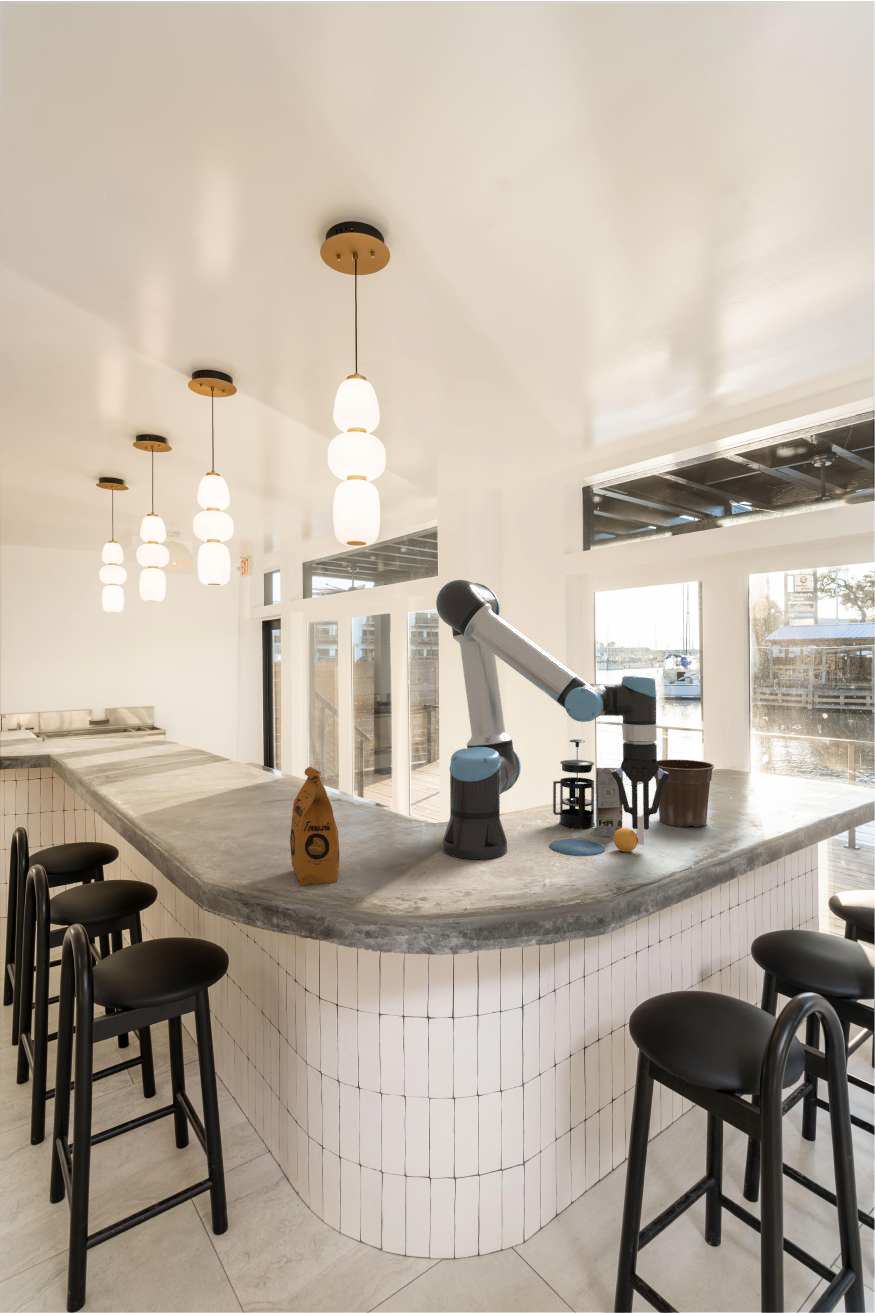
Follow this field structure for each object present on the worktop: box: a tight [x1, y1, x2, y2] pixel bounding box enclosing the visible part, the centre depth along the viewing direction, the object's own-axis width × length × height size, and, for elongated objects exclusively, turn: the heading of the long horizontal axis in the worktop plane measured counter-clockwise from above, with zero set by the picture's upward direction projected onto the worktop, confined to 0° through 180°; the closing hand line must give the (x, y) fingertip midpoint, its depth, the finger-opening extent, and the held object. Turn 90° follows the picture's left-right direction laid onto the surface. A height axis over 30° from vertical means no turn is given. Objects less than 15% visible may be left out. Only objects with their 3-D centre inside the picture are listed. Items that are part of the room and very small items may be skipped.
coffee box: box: [595, 767, 624, 838], centre depth 173 cm, size 9×6×16 cm
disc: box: [549, 838, 606, 857], centre depth 159 cm, size 13×13×1 cm
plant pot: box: [653, 759, 715, 828], centre depth 183 cm, size 16×16×16 cm
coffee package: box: [289, 766, 340, 886], centre depth 139 cm, size 10×12×22 cm
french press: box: [552, 738, 596, 830], centre depth 180 cm, size 12×9×23 cm
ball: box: [612, 827, 638, 853], centre depth 156 cm, size 6×6×6 cm
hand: (640, 842), depth 155 cm, fingers closed
